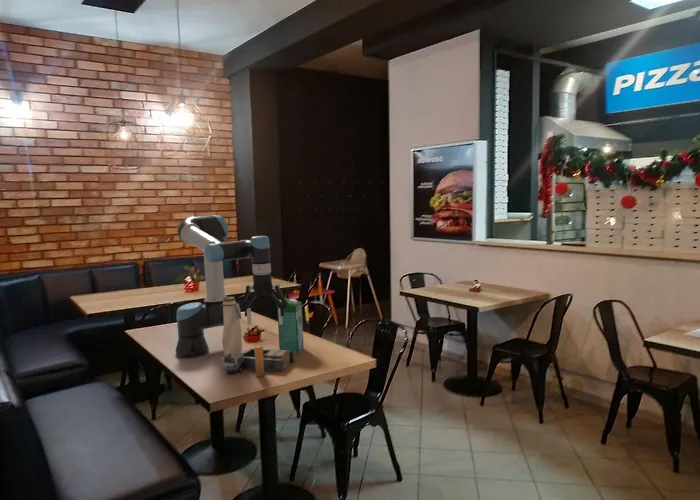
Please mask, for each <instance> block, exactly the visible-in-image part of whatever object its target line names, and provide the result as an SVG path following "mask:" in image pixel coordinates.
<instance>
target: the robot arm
mask: <svg viewBox="0 0 700 500" xmlns="http://www.w3.org/2000/svg"><path fill="white" fill-rule="evenodd" d="M176 229H177V232H176V233H177V236H178V238H179V239H180V241H182V242H184V243H185V244H186V245H187V244H189V245H193V246H194V247H195V248H197V249H199V250H200V251H202V252H203V265H204V266H203V267H204V277H205V290H206V293H205V294H206V296H205V298H204V300H203V304H202V303H201V302H190V303H187V304H186V303H185V304H183V305H181V306H179V307H178V308H177V310H176V324H177V325H176V326H177V335H178V336H177V337H178V338H177V344H176V347H175V356H176V357H177V358H182V359H183V358H184V359H191V358H196V357H202V356H204V355H207V354H208V353H209V351H210V348H209V345H208V342H207V339H206V338H205V332H204V331H205V330H206V329H210V328H217V327H222V326H223V327H224V316H223V306H222V305H221V304H222V303H223V301H224V299H223V298H225V297H228V296H227V295H226V292H225V279H224V264H223V262H225V261H232V260H233V261H234V260H242V259H243V260H244V259H251V265H252V267H251V268H252V274H253V275H252V280H253V281H252V283H253V285H251V284H247V286H245V292H244V295H243V297H242V300H241V302H240V303H239V307H240V309H241V308H242V309H244V310H243V311H244V317H246V319H247V320H246V323H247V325H248V326H250V325H251V324H252V311H251V310H252V309H251V307H250V306H251V305H252V303H253V302H254V301H255V300H256V298H257V296H258V297H262V296H263V297H269V298H270V299H271V301H272V302H274V303H275V304H276V306H277V305H278V307H279V309H278V311H277V316H278V315H279V325H281V324H282V323H283V320H282V316H284V308H285V307H287V306H288V303H287V301H286V299H285V298H286V297H285V296H284V294H283V292H282V290H281V288H280V287H281V285H280V284H275V285H273V281H272V280H273V278H272V274H271V272H272V266H271V244H270V238H269V236H267V235H255V236H251V238H250V239H241V240H237V241H236V240H235V241H226V242H225V239H227V238H228V236H229V228H228V224H227V221H226V220H225V218H224V217H223V216H222V215H215V214H214V215H213V214H212V215H202V216H199V215H198V216H190V217H189V216H188V217H186V218H184V219H183V220H182V221H180V223H179V224H178V226H177V228H176ZM252 290H253V291H254V293H253V294H252V296H251V297H250V299H248V298H249V295H250V293H251V291H252ZM272 290H274V291H275V293H276V294H277V296H276V295H275V294H274V292H273V291H272ZM280 300H281V302H282V303H281V302H280ZM247 301H248V302H247Z"/></svg>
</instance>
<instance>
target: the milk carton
mask: <svg viewBox="0 0 700 500" xmlns="http://www.w3.org/2000/svg"><path fill="white" fill-rule="evenodd" d="M285 299H286V301H287V303H288V306H287V307H285V308H284V316H282V320H283V323H282V324H281V325H279V315H278V314H277V325H278V344H279V345H278V346H279V349H278V350H289V351H294V355H299V354H300V353H301V352H302V351H303V349H304V348H305V347H304V327H303V326H304V325H303V323H304V322H303V306H302V305H303V304H302V303H303V302H302V301H299V300H297V299H295V298H288V297H285ZM279 300H280V299H279ZM280 302H281V300H280ZM281 303H282V302H281ZM276 308H277V309H276V310H277V312H278V309H279V307H278V305H277V304H276Z"/></svg>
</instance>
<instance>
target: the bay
mask: <svg viewBox="0 0 700 500" xmlns="http://www.w3.org/2000/svg"><path fill="white" fill-rule="evenodd" d="M271 350H273V348H272V349H271V348H270V349H268V348H263V360H264V372H273V371H274V372H275V373H282V372H283V371H284V369H283V360H282V359H270V358H264V355H265V354H266V353H268V352H269V351H271ZM289 353H290V364H294V363H295V362H296V361H295V354H294V351H289ZM242 354H243V355H244V362H243V363H241V370H250V371H251V370H252V371H256V367H255V350H254V347H251V348H249V349H247V350H246V351H244V352H242ZM239 356H240V355H239ZM237 357H238V356H237Z"/></svg>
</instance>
